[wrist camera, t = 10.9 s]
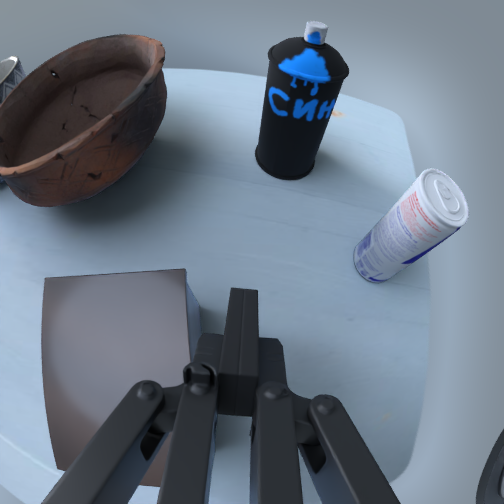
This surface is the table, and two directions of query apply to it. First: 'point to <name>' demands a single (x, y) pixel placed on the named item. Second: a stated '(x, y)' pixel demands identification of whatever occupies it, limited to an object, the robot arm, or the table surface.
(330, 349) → the table surface
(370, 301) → the table surface
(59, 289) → the chest lid
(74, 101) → the bowl
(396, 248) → the beverage can
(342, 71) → the aerosol can
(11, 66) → the planter
